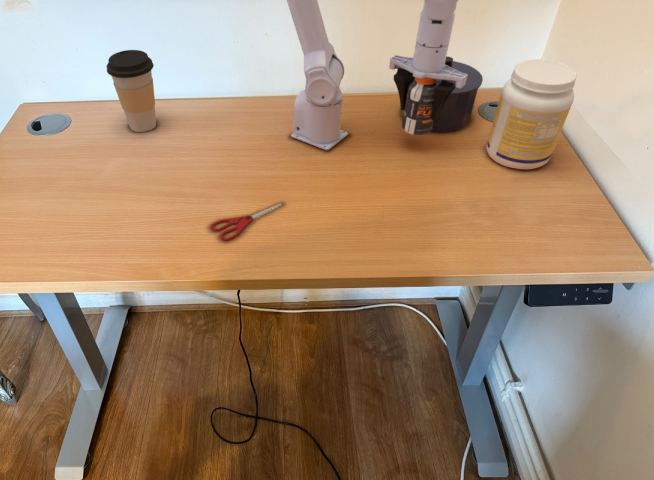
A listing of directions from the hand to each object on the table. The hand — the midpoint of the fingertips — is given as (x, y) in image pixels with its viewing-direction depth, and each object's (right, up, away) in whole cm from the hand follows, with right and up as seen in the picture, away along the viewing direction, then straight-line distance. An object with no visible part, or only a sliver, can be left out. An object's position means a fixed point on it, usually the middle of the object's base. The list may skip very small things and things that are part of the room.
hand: (419, 112), depth 104 cm
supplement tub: (+20, -8, +2) cm, 21 cm away
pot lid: (+7, +10, +7) cm, 14 cm away
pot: (+7, +4, +14) cm, 16 cm away
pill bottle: (0, -2, +3) cm, 4 cm away
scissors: (-33, -22, -9) cm, 41 cm away
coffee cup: (-57, +2, +14) cm, 59 cm away
